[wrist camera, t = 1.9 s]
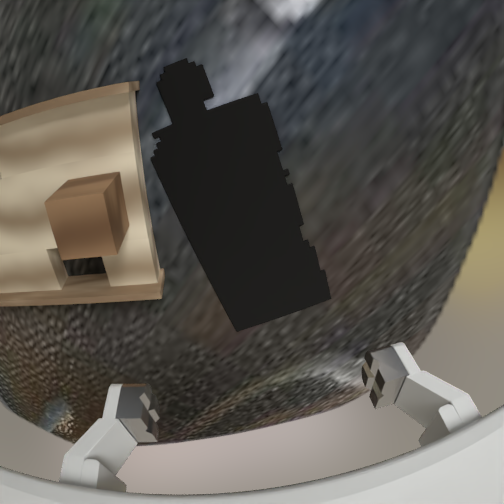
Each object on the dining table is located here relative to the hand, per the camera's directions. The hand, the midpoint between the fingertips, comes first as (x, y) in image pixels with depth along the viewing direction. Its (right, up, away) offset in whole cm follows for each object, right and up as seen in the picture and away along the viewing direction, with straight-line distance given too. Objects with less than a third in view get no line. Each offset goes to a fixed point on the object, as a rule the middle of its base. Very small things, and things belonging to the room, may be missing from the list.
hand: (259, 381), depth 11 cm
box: (-22, +10, +15) cm, 28 cm away
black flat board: (-1, +9, +20) cm, 22 cm away
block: (-14, +9, +14) cm, 22 cm away
